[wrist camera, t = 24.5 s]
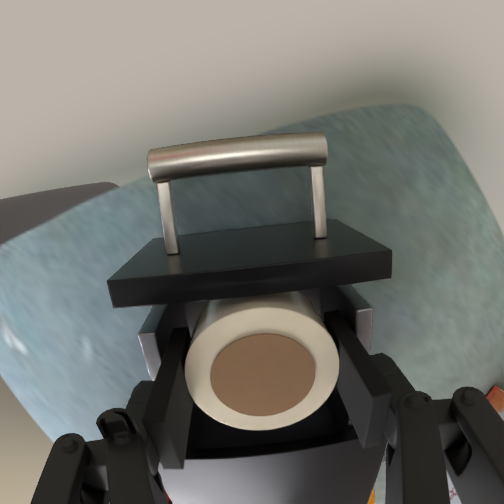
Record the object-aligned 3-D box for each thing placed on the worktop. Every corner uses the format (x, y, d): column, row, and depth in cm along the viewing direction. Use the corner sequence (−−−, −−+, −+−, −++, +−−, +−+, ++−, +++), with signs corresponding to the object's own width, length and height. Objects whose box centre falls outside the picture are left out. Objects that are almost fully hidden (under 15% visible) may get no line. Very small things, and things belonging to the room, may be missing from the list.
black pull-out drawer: (141, 158, 18) (85, 153, 10) (330, 138, 18) (386, 123, 11) (187, 398, 22) (174, 477, 15) (335, 382, 23) (367, 454, 15)
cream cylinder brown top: (181, 288, 15) (168, 316, 12) (322, 273, 15) (342, 298, 12) (204, 397, 16) (199, 436, 13) (323, 384, 16) (336, 421, 14)
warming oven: (173, 361, 23) (147, 458, 13) (341, 342, 23) (390, 430, 14) (206, 468, 26) (201, 547, 17) (333, 453, 26) (357, 529, 17)
